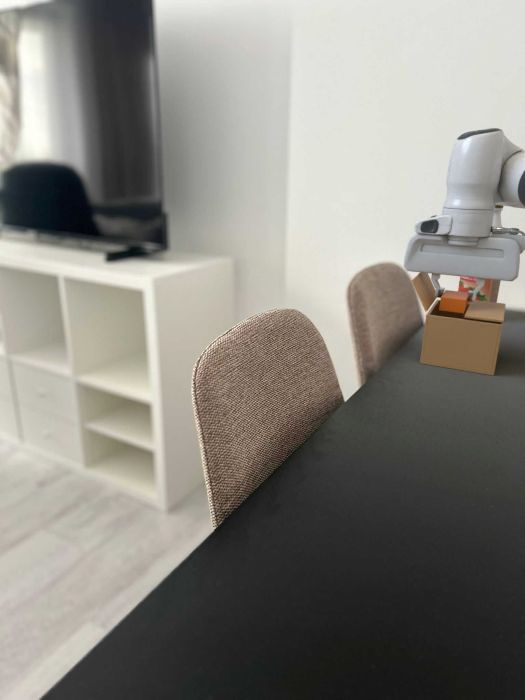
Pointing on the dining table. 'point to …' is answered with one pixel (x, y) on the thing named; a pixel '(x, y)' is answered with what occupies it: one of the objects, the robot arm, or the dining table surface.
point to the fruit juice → (491, 286)
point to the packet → (454, 301)
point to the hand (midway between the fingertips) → (454, 299)
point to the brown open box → (464, 337)
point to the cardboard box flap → (424, 289)
